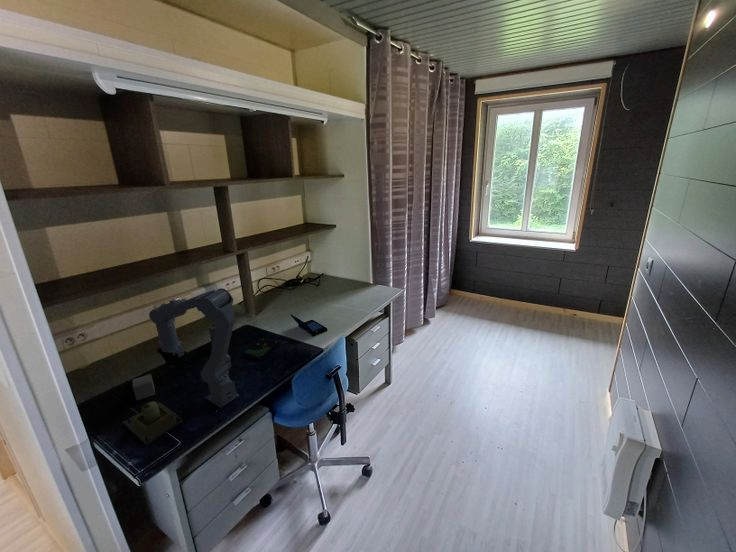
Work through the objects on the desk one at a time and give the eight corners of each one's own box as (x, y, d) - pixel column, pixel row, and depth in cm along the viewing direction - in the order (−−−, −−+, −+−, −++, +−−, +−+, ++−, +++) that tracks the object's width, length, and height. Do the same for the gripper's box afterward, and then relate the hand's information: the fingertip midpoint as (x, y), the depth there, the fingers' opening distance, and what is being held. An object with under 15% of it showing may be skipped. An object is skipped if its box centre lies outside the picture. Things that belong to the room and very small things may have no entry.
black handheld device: (328, 331, 175) (327, 315, 172) (307, 340, 166) (305, 323, 163) (312, 321, 186) (311, 306, 183) (291, 329, 177) (289, 313, 174)
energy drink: (221, 344, 163) (217, 322, 159) (227, 347, 160) (223, 325, 156) (210, 348, 159) (206, 326, 155) (216, 352, 156) (212, 330, 152)
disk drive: (264, 341, 166) (243, 357, 153) (263, 336, 165) (242, 352, 152) (281, 345, 162) (261, 361, 149) (280, 340, 162) (261, 356, 149)
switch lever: (165, 416, 116) (159, 400, 113) (155, 427, 112) (149, 410, 109) (153, 415, 117) (147, 399, 114) (143, 425, 112) (137, 409, 110)
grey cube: (136, 400, 126) (132, 387, 124) (136, 392, 130) (132, 379, 128) (155, 394, 129) (151, 381, 127) (154, 386, 134) (150, 373, 131)
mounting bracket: (183, 421, 115) (181, 413, 114) (146, 445, 106) (143, 436, 105) (159, 403, 124) (157, 396, 123) (123, 424, 114) (121, 416, 113)
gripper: (189, 336, 123) (195, 367, 128) (168, 326, 131) (175, 355, 135) (169, 345, 118) (177, 377, 122) (149, 333, 125) (157, 364, 130)
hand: (175, 366), depth 128 cm, fingers open, 7 cm apart
